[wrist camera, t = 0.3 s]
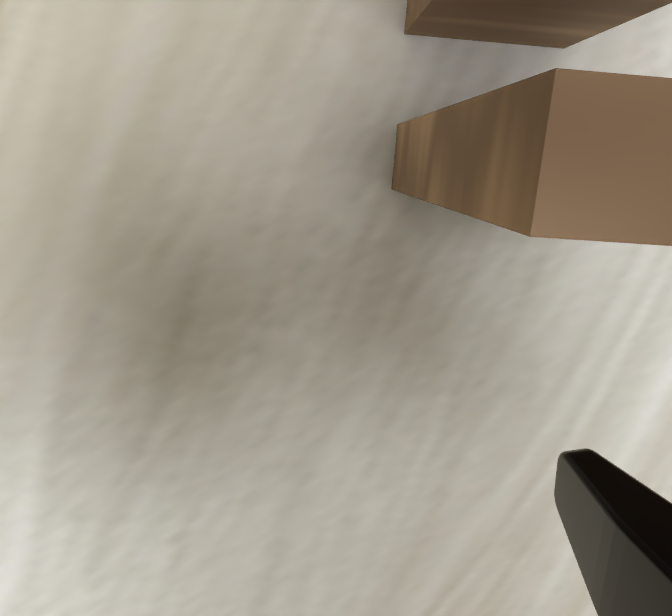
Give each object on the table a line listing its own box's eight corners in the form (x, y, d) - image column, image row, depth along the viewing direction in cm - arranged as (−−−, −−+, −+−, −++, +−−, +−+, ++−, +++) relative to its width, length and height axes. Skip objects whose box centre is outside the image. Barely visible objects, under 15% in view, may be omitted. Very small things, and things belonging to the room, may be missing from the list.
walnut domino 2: (541, 199, 23) (894, 260, 9) (391, 189, 22) (530, 236, 9) (551, 136, 22) (944, 101, 9) (397, 124, 22) (555, 68, 8)
